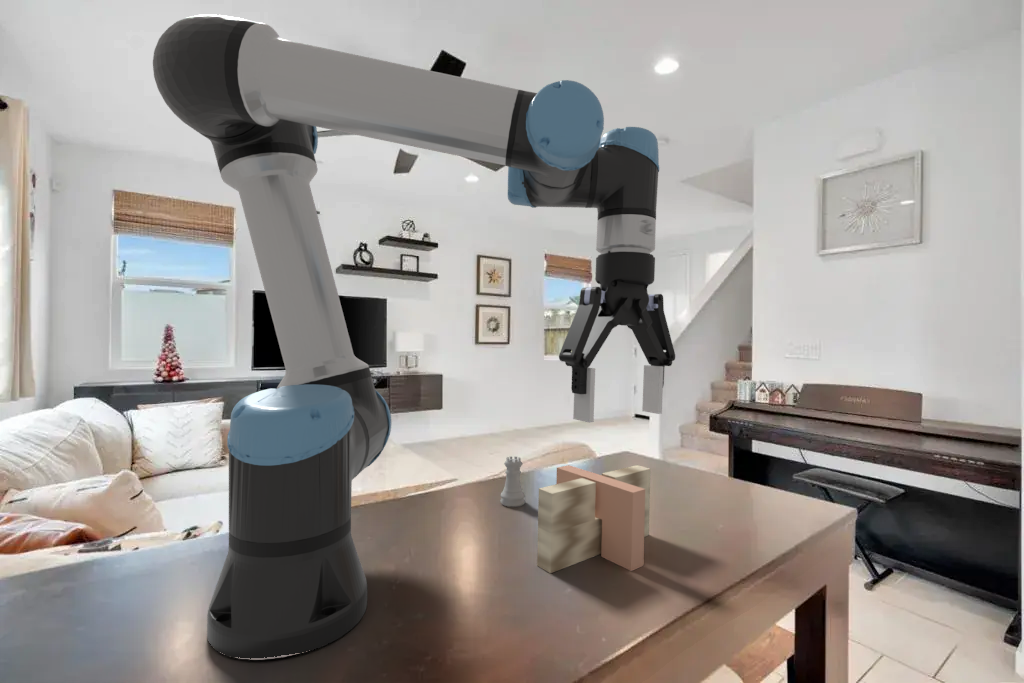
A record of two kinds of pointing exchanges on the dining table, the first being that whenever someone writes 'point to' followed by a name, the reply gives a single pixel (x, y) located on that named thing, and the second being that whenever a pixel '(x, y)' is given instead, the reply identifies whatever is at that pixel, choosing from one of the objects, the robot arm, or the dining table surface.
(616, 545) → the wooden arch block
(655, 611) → the dining table surface
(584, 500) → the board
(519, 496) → the rook chess piece
